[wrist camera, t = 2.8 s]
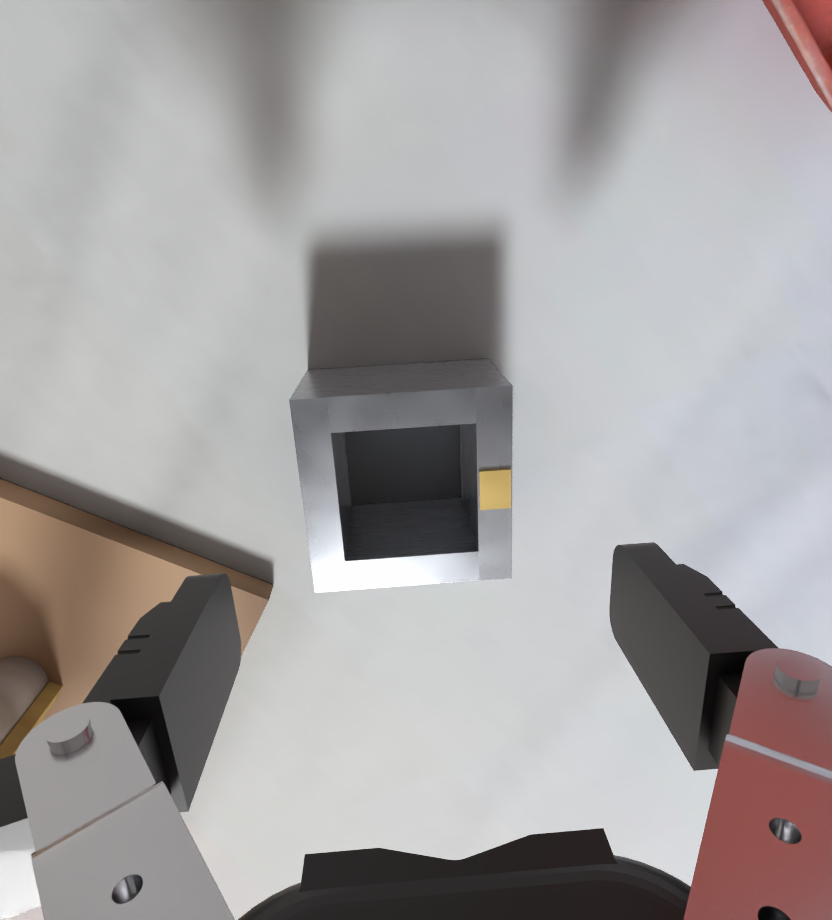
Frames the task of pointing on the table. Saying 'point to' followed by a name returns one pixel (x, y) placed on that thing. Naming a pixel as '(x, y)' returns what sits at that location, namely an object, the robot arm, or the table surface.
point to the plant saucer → (808, 38)
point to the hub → (411, 522)
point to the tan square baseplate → (81, 602)
